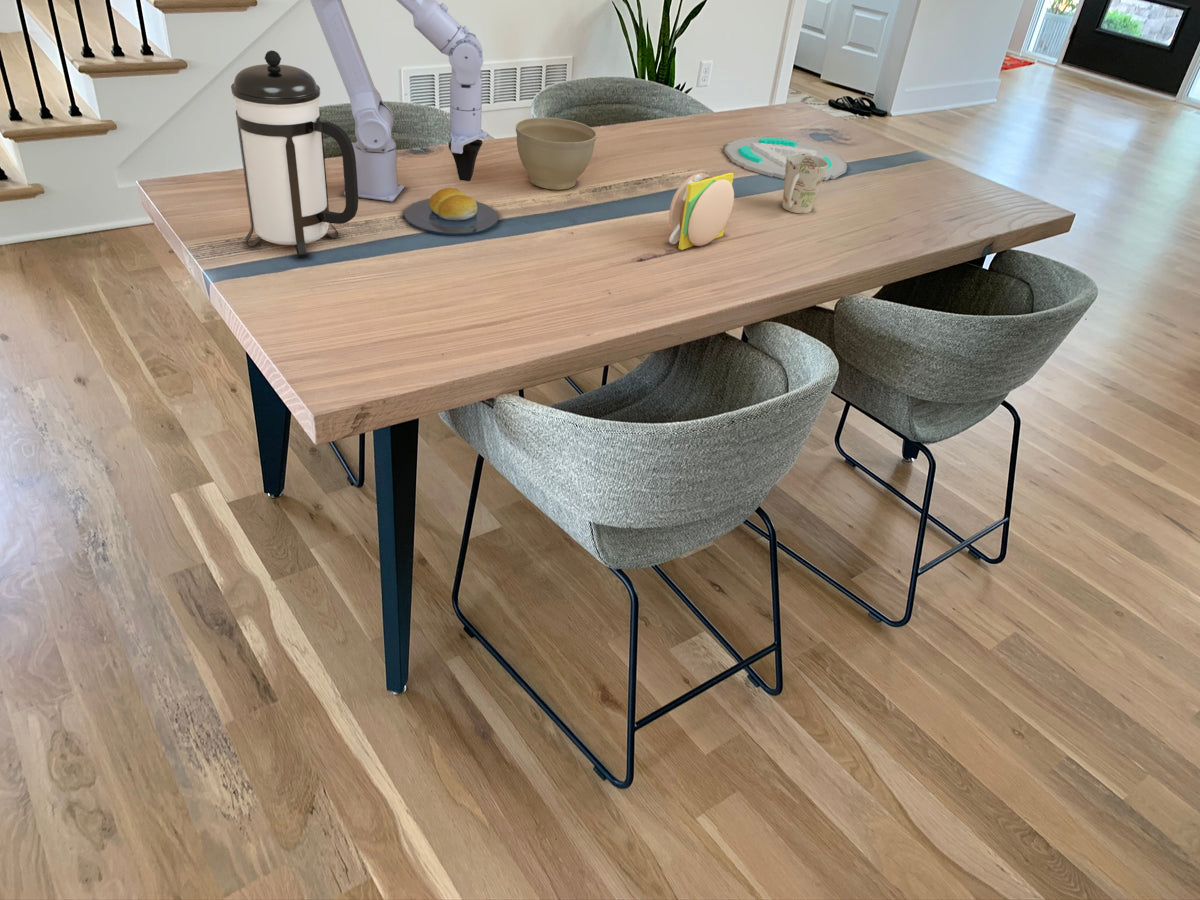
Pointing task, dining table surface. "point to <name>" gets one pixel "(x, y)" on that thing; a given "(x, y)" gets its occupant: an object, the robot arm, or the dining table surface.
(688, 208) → the hamburger
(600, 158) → the dining table surface
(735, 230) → the dining table surface
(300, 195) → the coffee press
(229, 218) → the dining table surface
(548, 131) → the planter bowl
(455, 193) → the bread roll
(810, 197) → the mug
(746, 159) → the grey flat disc
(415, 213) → the plate
